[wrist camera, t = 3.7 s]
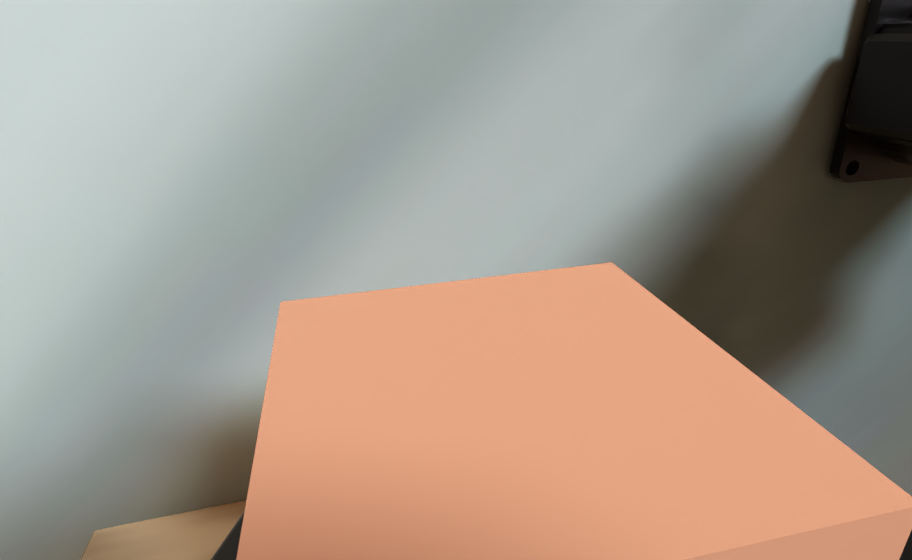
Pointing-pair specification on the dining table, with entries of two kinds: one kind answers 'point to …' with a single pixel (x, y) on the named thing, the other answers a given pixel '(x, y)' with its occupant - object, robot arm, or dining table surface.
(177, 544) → the birch base block
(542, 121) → the dining table surface
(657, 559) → the terracotta cube
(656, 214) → the dining table surface
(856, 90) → the robot arm
